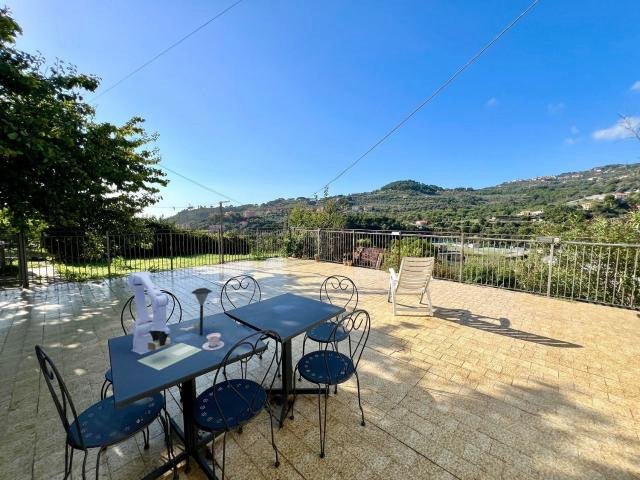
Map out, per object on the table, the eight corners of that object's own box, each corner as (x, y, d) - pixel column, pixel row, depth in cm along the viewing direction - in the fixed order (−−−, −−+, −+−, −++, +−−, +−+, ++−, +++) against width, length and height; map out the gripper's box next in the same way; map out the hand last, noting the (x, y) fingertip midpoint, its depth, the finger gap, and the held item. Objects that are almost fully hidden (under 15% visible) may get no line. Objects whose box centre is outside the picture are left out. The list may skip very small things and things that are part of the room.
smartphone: (202, 323, 189) (187, 330, 174) (202, 325, 189) (187, 332, 174) (194, 322, 191) (178, 329, 176) (194, 323, 191) (178, 330, 176)
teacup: (216, 351, 148) (216, 341, 148) (197, 349, 151) (197, 338, 151) (228, 343, 160) (228, 333, 160) (210, 340, 163) (210, 330, 162)
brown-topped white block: (165, 342, 141) (165, 336, 141) (170, 344, 139) (170, 338, 139) (147, 348, 133) (147, 343, 133) (153, 351, 131) (153, 345, 131)
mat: (136, 361, 135) (136, 360, 135) (181, 343, 157) (181, 342, 157) (159, 371, 127) (159, 369, 127) (202, 350, 149) (202, 349, 149)
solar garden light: (206, 339, 163) (207, 291, 162) (186, 338, 164) (187, 291, 162) (214, 331, 176) (215, 287, 174) (196, 331, 176) (197, 286, 175)
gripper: (143, 318, 136) (143, 344, 136) (160, 323, 129) (160, 350, 130) (156, 314, 142) (156, 339, 142) (174, 319, 135) (174, 345, 136)
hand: (159, 344), depth 136 cm, fingers closed on brown-topped white block, 4 cm apart
